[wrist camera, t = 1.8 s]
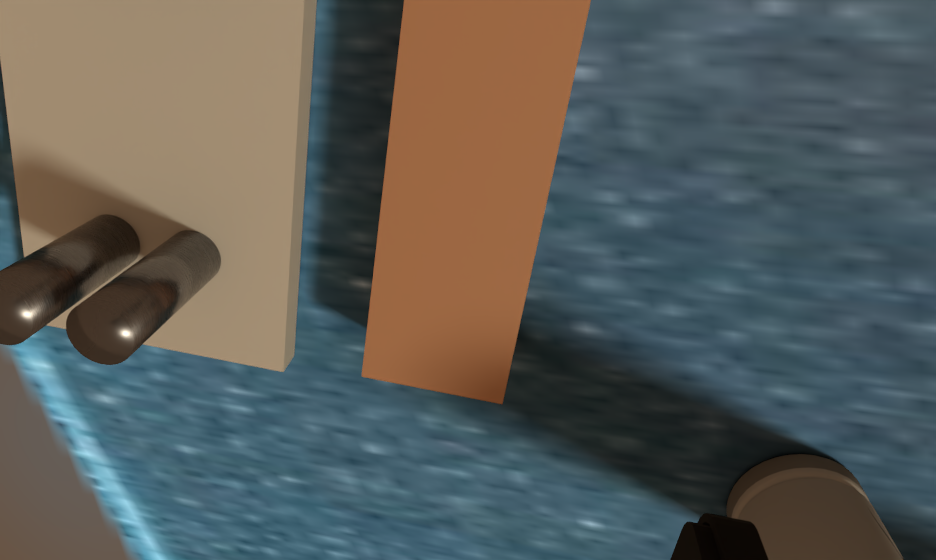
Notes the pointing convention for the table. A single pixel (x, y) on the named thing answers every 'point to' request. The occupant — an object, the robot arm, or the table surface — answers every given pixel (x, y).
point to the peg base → (171, 146)
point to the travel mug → (810, 511)
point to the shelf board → (467, 187)
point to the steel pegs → (104, 287)
